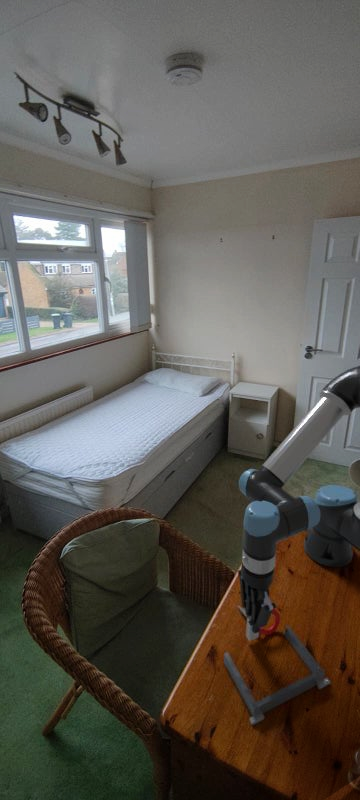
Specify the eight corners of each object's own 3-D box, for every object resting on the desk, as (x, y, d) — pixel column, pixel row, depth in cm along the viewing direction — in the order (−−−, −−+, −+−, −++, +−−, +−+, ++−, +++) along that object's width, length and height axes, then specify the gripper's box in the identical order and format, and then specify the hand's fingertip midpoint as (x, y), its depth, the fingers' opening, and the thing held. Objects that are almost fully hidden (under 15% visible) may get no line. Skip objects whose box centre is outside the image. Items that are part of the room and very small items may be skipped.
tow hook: (282, 630, 99) (258, 640, 97) (259, 609, 109) (237, 618, 106) (279, 605, 99) (255, 615, 96) (257, 587, 108) (235, 595, 106)
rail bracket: (290, 632, 99) (291, 624, 98) (329, 684, 87) (331, 675, 86) (220, 664, 91) (220, 655, 90) (252, 725, 79) (252, 716, 78)
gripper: (229, 549, 93) (226, 620, 101) (260, 589, 81) (253, 666, 89) (255, 541, 95) (250, 611, 103) (288, 579, 84) (279, 654, 92)
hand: (252, 636), depth 96 cm, fingers closed
